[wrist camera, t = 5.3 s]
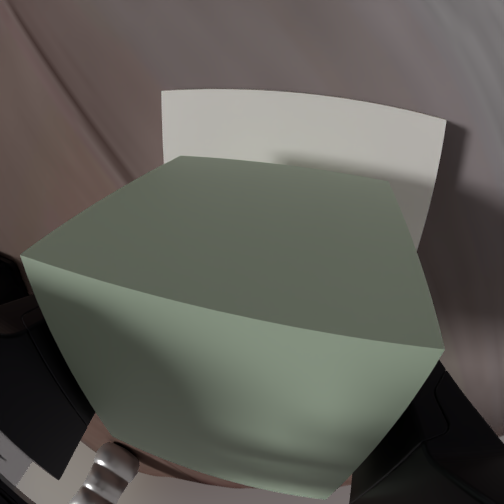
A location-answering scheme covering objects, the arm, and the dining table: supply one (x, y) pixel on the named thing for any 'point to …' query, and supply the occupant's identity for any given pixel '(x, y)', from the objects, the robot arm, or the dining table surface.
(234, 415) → the cube
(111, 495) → the plastic bottle
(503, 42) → the dining table surface
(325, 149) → the tile
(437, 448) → the robot arm
